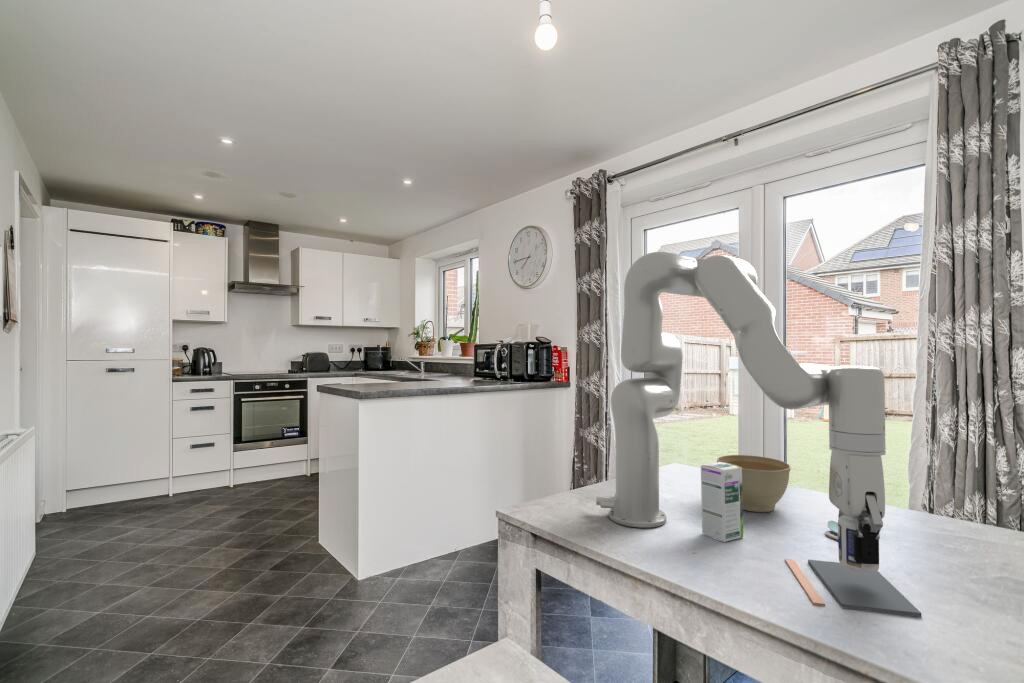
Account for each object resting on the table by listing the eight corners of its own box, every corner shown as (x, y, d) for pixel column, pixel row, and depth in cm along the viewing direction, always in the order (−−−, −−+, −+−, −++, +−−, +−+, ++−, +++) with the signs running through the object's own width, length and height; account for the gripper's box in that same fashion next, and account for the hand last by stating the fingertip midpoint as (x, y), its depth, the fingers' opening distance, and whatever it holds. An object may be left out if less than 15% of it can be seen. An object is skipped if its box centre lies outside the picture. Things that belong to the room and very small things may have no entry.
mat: (841, 607, 74) (841, 603, 74) (808, 562, 89) (808, 559, 89) (921, 617, 71) (921, 613, 71) (872, 569, 87) (872, 565, 87)
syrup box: (724, 543, 98) (724, 469, 99) (700, 533, 104) (700, 463, 104) (743, 538, 101) (743, 466, 101) (719, 528, 106) (719, 460, 106)
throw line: (813, 604, 75) (813, 602, 75) (785, 560, 90) (785, 558, 90) (824, 605, 74) (824, 603, 74) (794, 561, 90) (794, 559, 90)
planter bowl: (717, 512, 117) (716, 466, 117) (717, 494, 132) (717, 452, 132) (795, 521, 110) (794, 472, 111) (786, 501, 125) (786, 457, 125)
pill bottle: (888, 571, 78) (887, 509, 78) (859, 575, 77) (858, 511, 77) (857, 557, 84) (856, 499, 84) (830, 560, 82) (829, 501, 83)
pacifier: (853, 548, 96) (873, 542, 99) (852, 516, 96) (872, 510, 99) (817, 535, 103) (836, 530, 106) (816, 505, 103) (835, 500, 106)
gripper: (813, 432, 90) (814, 533, 90) (851, 451, 73) (853, 575, 73) (861, 434, 88) (862, 537, 88) (911, 454, 71) (913, 581, 71)
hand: (858, 553), depth 80 cm, fingers closed on pill bottle, 5 cm apart
